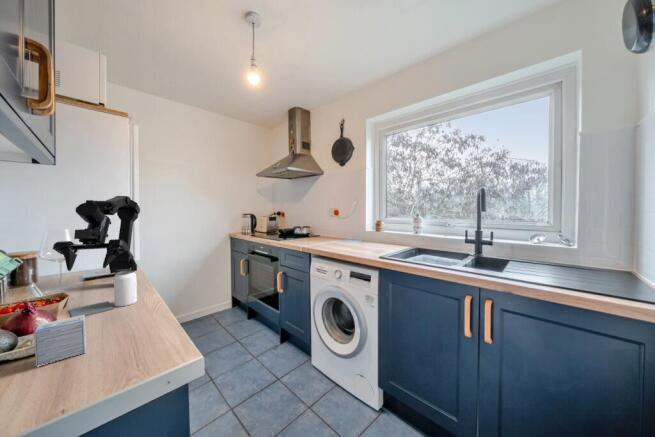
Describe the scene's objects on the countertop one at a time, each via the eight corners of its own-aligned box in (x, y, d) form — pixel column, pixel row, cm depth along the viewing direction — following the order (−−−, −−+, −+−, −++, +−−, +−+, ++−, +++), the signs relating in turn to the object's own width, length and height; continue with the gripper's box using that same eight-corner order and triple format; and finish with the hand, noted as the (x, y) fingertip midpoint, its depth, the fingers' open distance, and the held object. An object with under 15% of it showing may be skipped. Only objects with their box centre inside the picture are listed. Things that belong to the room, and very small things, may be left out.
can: (141, 300, 91) (140, 270, 91) (125, 307, 85) (124, 274, 84) (126, 299, 92) (125, 269, 92) (109, 306, 86) (108, 274, 85)
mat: (69, 310, 82) (69, 309, 82) (108, 302, 90) (108, 301, 90) (72, 319, 76) (72, 318, 76) (113, 309, 84) (113, 308, 83)
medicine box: (86, 346, 61) (85, 313, 61) (85, 353, 58) (84, 319, 58) (39, 359, 56) (37, 324, 55) (35, 369, 52) (33, 331, 52)
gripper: (50, 219, 78) (33, 263, 71) (120, 218, 85) (111, 258, 78) (68, 234, 87) (55, 274, 80) (131, 232, 94) (123, 269, 87)
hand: (86, 269), depth 81 cm, fingers open, 9 cm apart
